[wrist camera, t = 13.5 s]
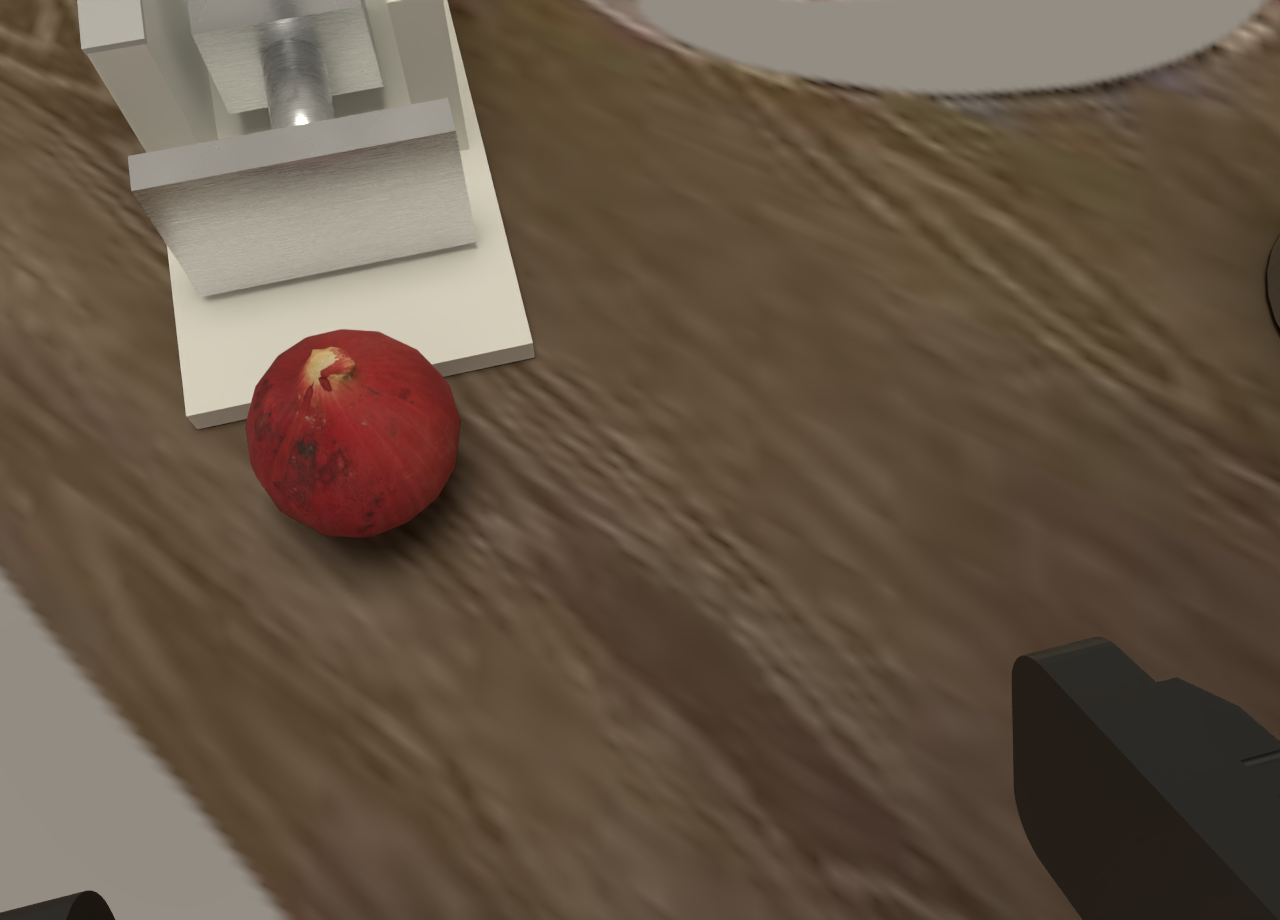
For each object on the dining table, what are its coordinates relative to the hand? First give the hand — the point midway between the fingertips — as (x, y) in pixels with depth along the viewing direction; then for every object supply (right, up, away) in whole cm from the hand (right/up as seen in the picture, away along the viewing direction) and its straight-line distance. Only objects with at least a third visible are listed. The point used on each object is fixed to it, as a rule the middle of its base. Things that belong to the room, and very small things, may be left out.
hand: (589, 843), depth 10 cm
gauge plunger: (-11, +15, +28) cm, 33 cm away
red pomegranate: (-8, +3, +25) cm, 26 cm away
